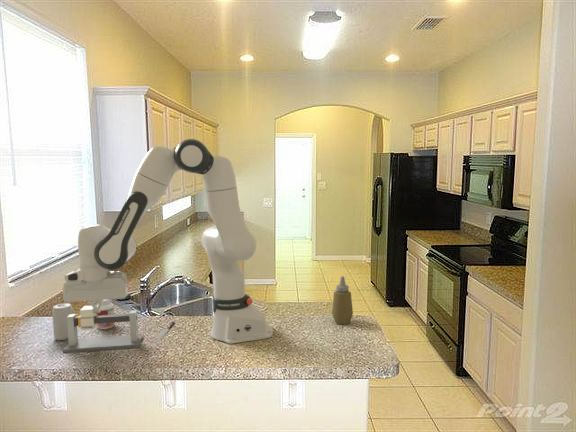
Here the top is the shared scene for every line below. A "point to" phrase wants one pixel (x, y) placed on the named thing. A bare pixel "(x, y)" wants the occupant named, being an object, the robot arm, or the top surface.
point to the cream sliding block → (87, 318)
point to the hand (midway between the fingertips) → (97, 312)
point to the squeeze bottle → (342, 303)
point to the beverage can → (61, 320)
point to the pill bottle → (106, 313)
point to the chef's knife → (164, 332)
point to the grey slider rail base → (103, 342)
